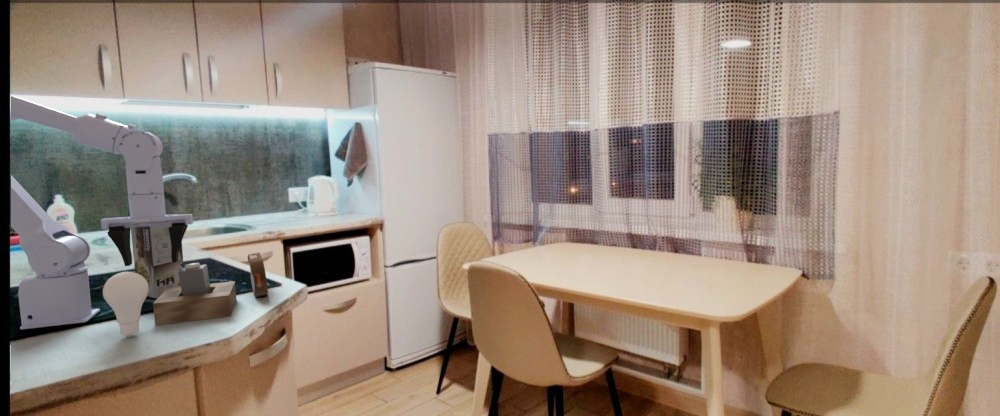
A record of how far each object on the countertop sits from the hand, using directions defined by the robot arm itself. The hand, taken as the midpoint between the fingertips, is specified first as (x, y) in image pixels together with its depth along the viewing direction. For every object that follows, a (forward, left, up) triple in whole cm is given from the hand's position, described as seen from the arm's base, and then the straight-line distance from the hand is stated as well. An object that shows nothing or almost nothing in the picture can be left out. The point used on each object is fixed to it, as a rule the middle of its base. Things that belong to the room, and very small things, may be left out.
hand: (152, 263), depth 99 cm
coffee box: (-2, +15, -10) cm, 18 cm away
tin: (+18, +6, -10) cm, 21 cm away
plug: (+8, -5, -7) cm, 12 cm away
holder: (+8, -5, -9) cm, 13 cm away
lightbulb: (0, -16, -10) cm, 19 cm away
